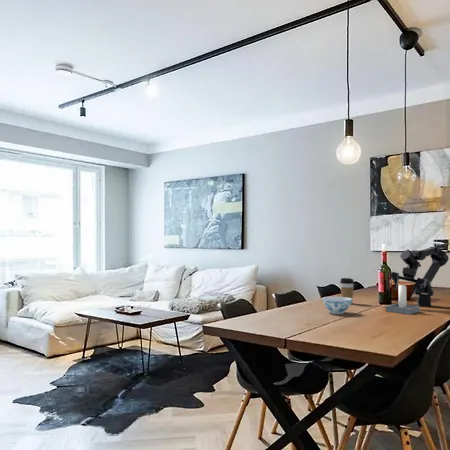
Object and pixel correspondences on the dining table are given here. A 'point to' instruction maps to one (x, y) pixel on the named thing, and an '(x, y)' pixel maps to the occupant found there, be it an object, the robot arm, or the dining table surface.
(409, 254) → the robot arm
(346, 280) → the coffee cup
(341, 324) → the dining table surface
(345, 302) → the chinaware
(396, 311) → the socket tray
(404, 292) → the peg
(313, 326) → the dining table surface
